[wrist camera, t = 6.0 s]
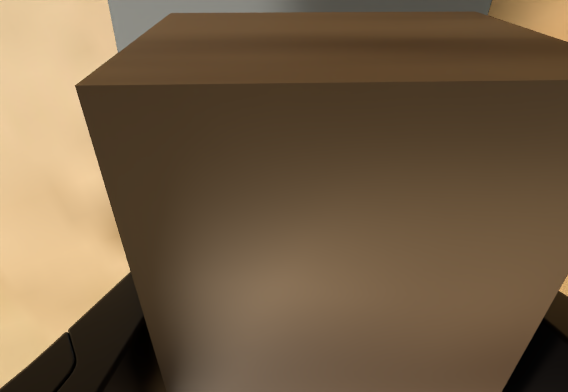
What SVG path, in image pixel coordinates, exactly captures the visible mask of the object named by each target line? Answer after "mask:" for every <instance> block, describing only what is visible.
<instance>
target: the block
mask: <svg viewBox="0 0 568 392" xmlns="http://www.w3.org/2000/svg"><path fill="white" fill-rule="evenodd" d="M75 87H76V90H77V93H78V97H79V100H80V103H81V107H82V110H83V114H84V117H85V120H86V124H87V127H88V130H89V134H90V137H91V140H92V144H93V147H94V150H95V154H96V157H97V160H98V164H99V167H100V170H101V174H102V177H103V180H104V184H105V187H106V191H107V194H108V197H109V201H110V204H111V207H112V211H113V214H114V217H115V221H116V224H117V227H118V231H119V234H120V237H121V241H122V244H123V247H124V251H125V254H126V257H127V261H128V264H129V267H130V271H131V274H132V278H133V281H134V284H135V288H136V291H137V294H138V298H139V301H140V304H141V308H142V311H143V314H144V318H145V321H146V324H147V328H148V331H149V334H150V338H151V341H152V344H153V348H154V351H155V355H156V358H157V361H158V365H159V368H160V371H161V375H162V378H163V381H164V385H165V388H166V391H167V392H502V390H503V389H504V387H505V385H506V383H507V381H508V380H509V378H510V376H511V374H512V373H513V371H514V369H515V367H516V365H517V364H518V362H519V360H520V358H521V357H522V355H523V353H524V351H525V349H526V348H527V346H528V344H529V342H530V341H531V339H532V337H533V335H534V333H535V332H536V330H537V328H538V326H539V325H540V323H541V321H542V319H543V317H544V316H545V314H546V312H547V310H548V309H549V307H550V305H551V303H552V301H553V300H554V298H555V296H556V294H557V293H558V291H559V289H560V287H561V285H562V284H563V282H564V280H565V278H566V277H567V275H568V42H566V41H563V40H560V39H557V38H554V37H551V36H548V35H545V34H542V33H539V32H536V31H533V30H530V29H527V28H524V27H521V26H518V25H515V24H512V23H509V22H506V21H503V20H500V19H497V18H494V17H491V16H488V15H485V14H482V13H479V12H263V13H170V14H169V15H167V16H166V17H165V18H163V19H162V20H161V21H159V22H158V23H157V24H155V25H154V26H153V27H151V28H150V29H149V30H148V31H146V32H145V33H144V34H142V35H141V36H140V37H138V38H137V39H136V40H134V41H133V42H132V43H130V44H129V45H128V46H126V47H125V48H124V49H123V50H121V51H120V52H119V53H117V54H116V55H115V56H113V57H112V58H111V59H109V60H108V61H107V62H105V63H104V64H103V65H102V66H100V67H99V68H98V69H96V70H95V71H94V72H92V73H91V74H90V75H88V76H87V77H86V78H84V79H83V80H82V81H81V82H79V83H78V84H77V85H75Z"/></svg>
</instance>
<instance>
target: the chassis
mask: <svg viewBox="0 0 568 392" xmlns="http://www.w3.org/2000/svg"><path fill="white" fill-rule="evenodd" d="M491 2H492V0H108V4H109V9H110V14H111V19H112V24H113V30H114V35H115V40H116V45H117V50H118V53H119V52H120V51H121V50H123V49H124V48H125V47H126V46H128V45H129V44H130V43H132V42H133V41H134V40H136V39H137V38H138V37H140V36H141V35H142V34H144V33H145V32H146V31H148V30H149V29H150V28H151V27H153V26H154V25H155V24H157V23H158V22H159V21H161V20H162V19H163V18H165V17H166V16H167V15H169V14H170V13H263V12H479V13H482V14H485V15H488V12H489V9H490V5H491Z"/></svg>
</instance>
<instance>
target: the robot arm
mask: <svg viewBox="0 0 568 392" xmlns="http://www.w3.org/2000/svg"><path fill="white" fill-rule="evenodd" d="M0 392H167V391H166V388H165V385H164V381H163V378H162V375H161V371H160V368H159V365H158V361H157V358H156V355H155V351H154V348H153V344H152V341H151V338H150V334H149V331H148V328H147V324H146V321H145V318H144V314H143V311H142V308H141V304H140V301H139V298H138V294H137V291H136V288H135V284H134V281H133V278H132V274H131V272H130V273H129V274H128V275H126V276H125V277H124V278H123V279H122V280H121V281H120V282H119V283H118V284H117V285H116V286H115V287H114V288H112V289H111V290H110V291H109V292H108V293H107V294H106V295H105V296H104V297H103V298H102V299H101V300H99V301H98V302H97V303H96V304H95V305H94V306H93V307H92V308H91V309H90V310H89V311H88V312H87V313H85V314H84V315H83V316H82V317H81V318H80V319H79V320H78V321H77V322H76V323H75V324H74V325H73V326H71V327H70V328H69V330H68V332H65V333H64V334H63V335H62V336H61V337H59V338H58V339H57V340H56V341H55V342H54V343H53V344H52V345H51V346H50V347H49V348H47V349H46V350H45V351H44V352H43V353H42V354H41V355H40V356H38V357H37V358H36V359H35V360H34V361H33V362H32V363H31V364H29V365H28V366H27V367H26V368H25V369H24V370H22V371H21V372H20V373H19V374H17V375H16V376H15V377H14V378H13V379H11V380H10V381H9V382H8V383H6V384H5V385H4V386H3V387H2V388H0ZM502 392H568V296H566V295H564V294H563V293H561V292H560V291H558V293H557V294H556V296H555V298H554V300H553V301H552V303H551V305H550V307H549V309H548V310H547V312H546V314H545V316H544V317H543V319H542V321H541V323H540V325H539V326H538V328H537V330H536V332H535V333H534V335H533V337H532V339H531V341H530V342H529V344H528V346H527V348H526V349H525V351H524V353H523V355H522V357H521V358H520V360H519V362H518V364H517V365H516V367H515V369H514V371H513V373H512V374H511V376H510V378H509V380H508V381H507V383H506V385H505V387H504V389H503V390H502Z"/></svg>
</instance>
